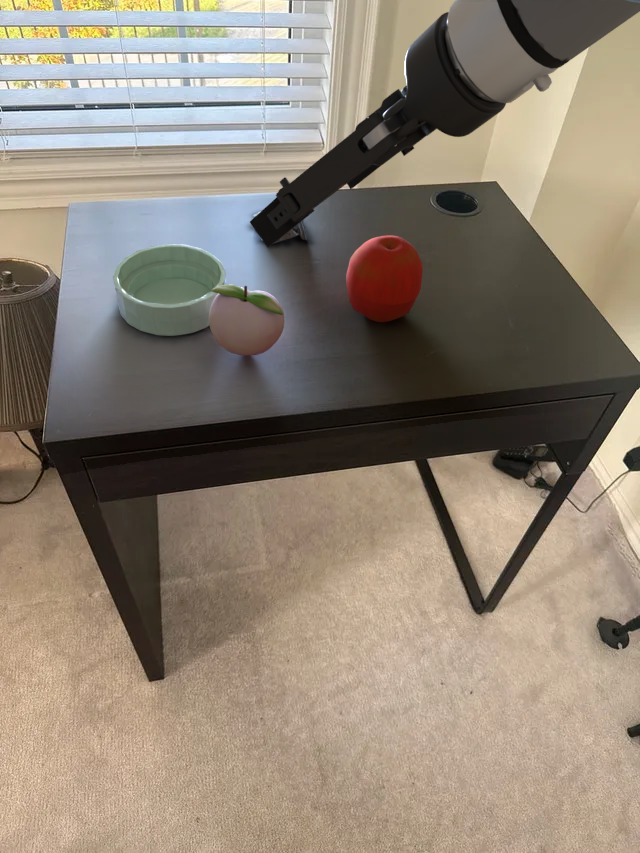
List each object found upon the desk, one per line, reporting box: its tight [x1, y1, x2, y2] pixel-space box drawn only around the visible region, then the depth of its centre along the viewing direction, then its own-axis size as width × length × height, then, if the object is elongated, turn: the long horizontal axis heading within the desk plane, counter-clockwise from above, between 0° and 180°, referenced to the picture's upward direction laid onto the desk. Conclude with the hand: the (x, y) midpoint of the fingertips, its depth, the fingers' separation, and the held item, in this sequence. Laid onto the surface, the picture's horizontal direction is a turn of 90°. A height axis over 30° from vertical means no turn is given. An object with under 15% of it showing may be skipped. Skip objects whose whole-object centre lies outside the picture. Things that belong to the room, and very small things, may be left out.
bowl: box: [112, 243, 227, 337], centre depth 85 cm, size 14×14×5 cm
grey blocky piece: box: [253, 211, 309, 245], centre depth 100 cm, size 10×7×12 cm
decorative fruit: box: [209, 283, 285, 356], centre depth 78 cm, size 9×8×10 cm
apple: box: [345, 235, 424, 323], centre depth 85 cm, size 10×10×12 cm
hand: (305, 203), depth 61 cm, fingers open, 13 cm apart
